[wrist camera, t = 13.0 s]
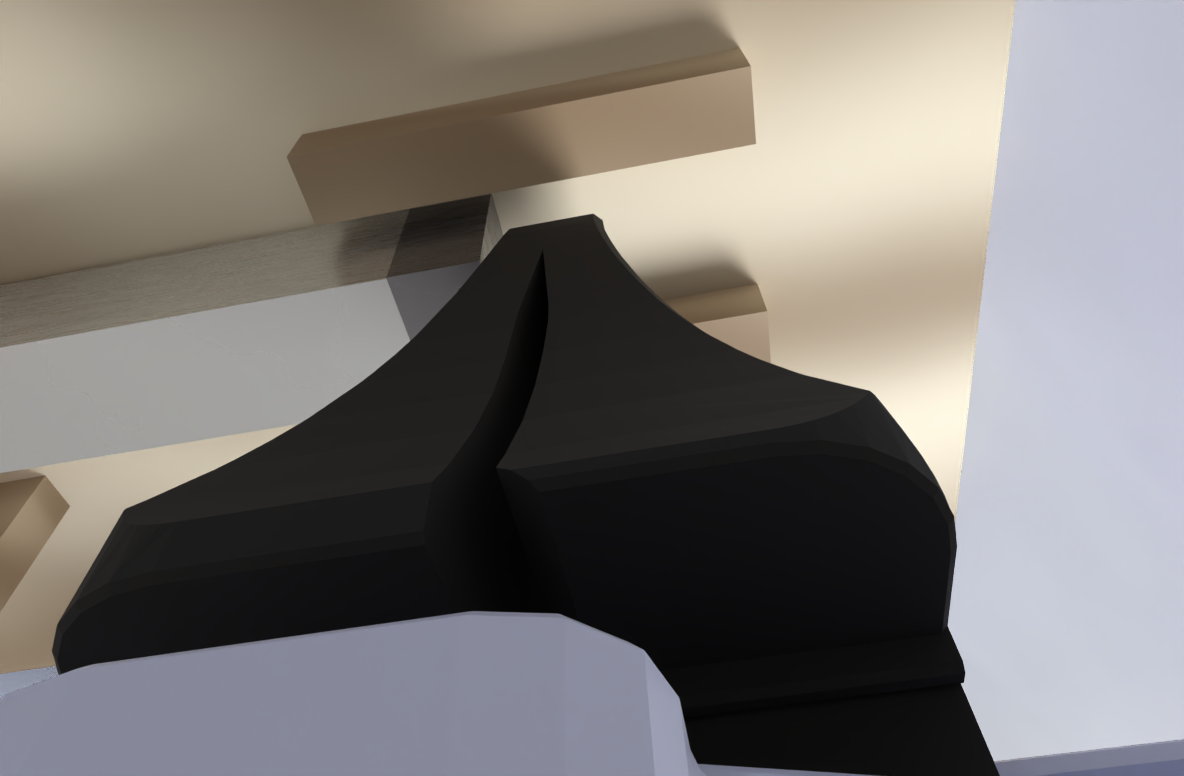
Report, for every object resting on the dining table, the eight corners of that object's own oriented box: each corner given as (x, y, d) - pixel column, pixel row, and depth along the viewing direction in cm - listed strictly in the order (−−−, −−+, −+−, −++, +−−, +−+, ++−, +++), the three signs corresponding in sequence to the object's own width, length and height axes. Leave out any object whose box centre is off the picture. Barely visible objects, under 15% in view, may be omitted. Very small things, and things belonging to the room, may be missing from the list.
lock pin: (524, 311, 13) (518, 389, 11) (-88, 416, 14) (-173, 503, 12) (491, 191, 12) (479, 261, 10) (-177, 316, 13) (-285, 398, 11)
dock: (935, 503, 17) (1005, 645, 15) (-178, 664, 20) (-298, 813, 17) (1018, -387, 9) (1216, -450, 6) (-923, 75, 11) (-1405, 176, 9)
